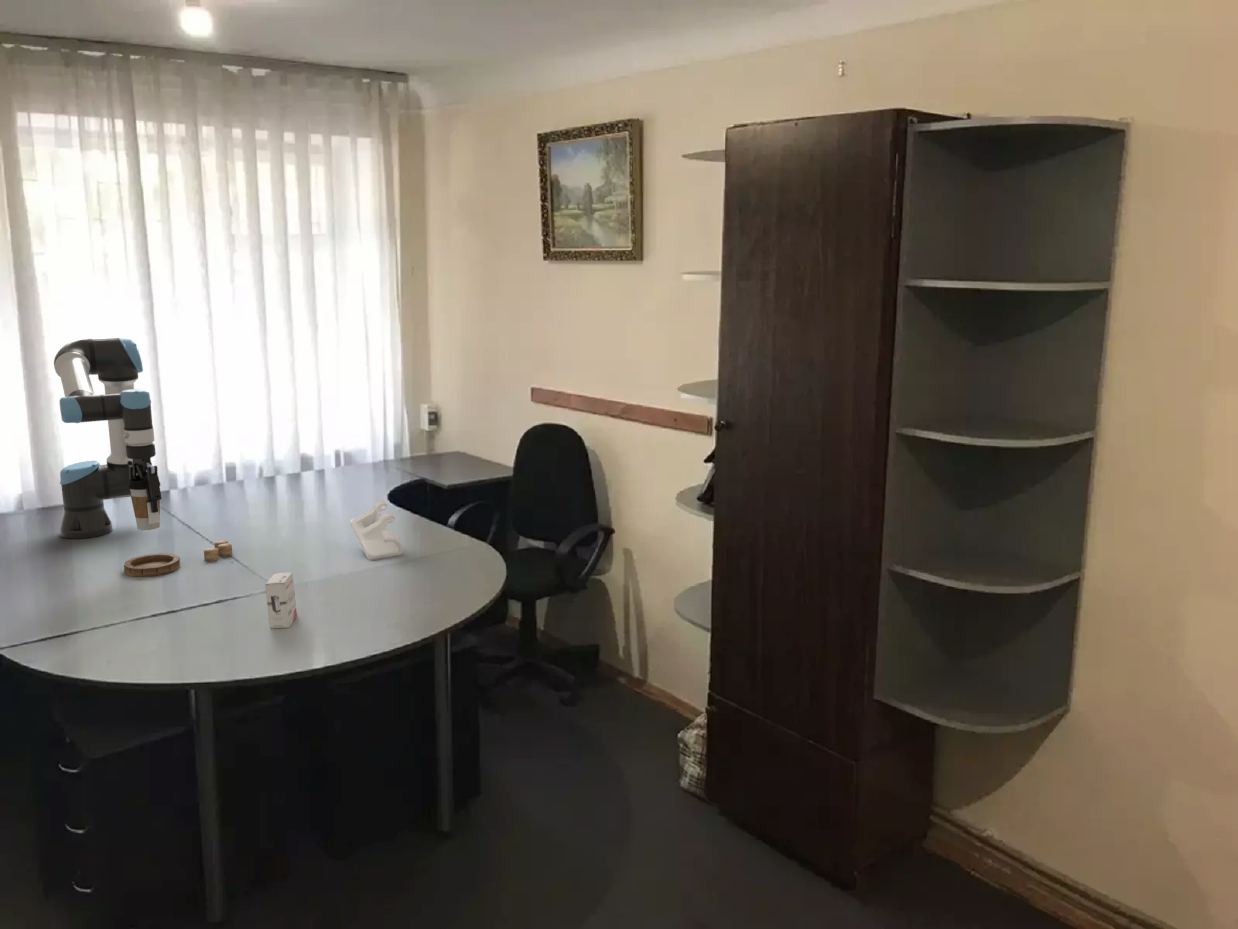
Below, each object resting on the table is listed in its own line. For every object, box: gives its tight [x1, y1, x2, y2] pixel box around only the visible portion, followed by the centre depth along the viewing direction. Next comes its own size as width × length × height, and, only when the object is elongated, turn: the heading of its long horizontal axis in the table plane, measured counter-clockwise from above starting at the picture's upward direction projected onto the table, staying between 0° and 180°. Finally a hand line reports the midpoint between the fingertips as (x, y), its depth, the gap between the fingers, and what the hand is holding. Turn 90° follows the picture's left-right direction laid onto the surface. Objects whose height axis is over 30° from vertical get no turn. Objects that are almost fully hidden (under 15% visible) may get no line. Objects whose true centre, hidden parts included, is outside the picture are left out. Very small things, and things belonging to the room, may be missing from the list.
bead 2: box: [214, 539, 229, 548], centre depth 300 cm, size 4×4×3 cm
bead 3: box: [218, 543, 233, 557], centre depth 297 cm, size 4×4×3 cm
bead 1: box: [203, 547, 220, 562], centre depth 293 cm, size 4×4×3 cm
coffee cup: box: [128, 477, 161, 531], centre depth 279 cm, size 8×8×15 cm
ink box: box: [264, 572, 298, 629], centre depth 242 cm, size 9×5×12 cm, turn 5°
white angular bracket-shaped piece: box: [349, 500, 403, 561], centre depth 301 cm, size 20×11×13 cm, turn 36°
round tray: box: [123, 552, 182, 578], centre depth 283 cm, size 15×15×2 cm
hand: (147, 520), depth 280 cm, fingers closed on coffee cup, 8 cm apart
